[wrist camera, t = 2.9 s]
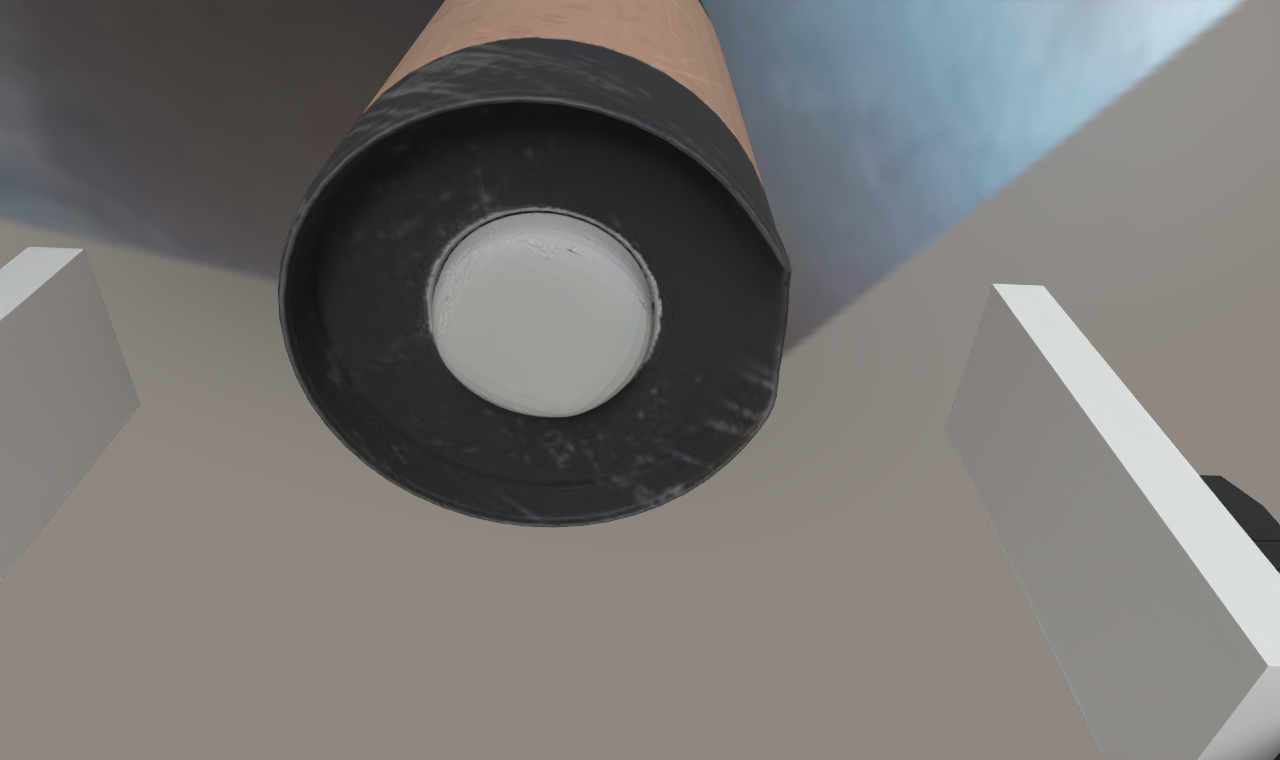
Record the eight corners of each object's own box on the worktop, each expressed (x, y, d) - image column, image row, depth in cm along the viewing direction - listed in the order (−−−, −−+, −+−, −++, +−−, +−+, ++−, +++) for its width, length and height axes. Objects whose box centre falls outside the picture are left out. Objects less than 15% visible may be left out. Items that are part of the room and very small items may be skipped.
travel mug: (427, 19, 28) (161, 351, 12) (582, -172, 25) (504, -71, 9) (593, 173, 32) (558, 597, 15) (749, 19, 29) (911, 347, 12)
